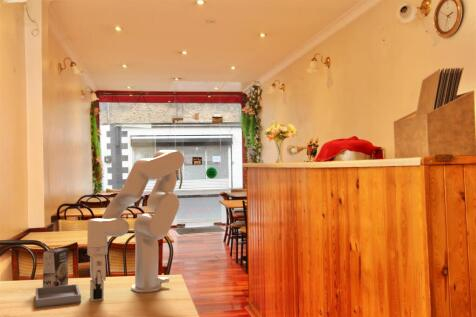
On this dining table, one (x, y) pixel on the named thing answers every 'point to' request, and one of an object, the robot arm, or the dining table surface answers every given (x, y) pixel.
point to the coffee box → (55, 267)
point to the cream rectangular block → (93, 288)
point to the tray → (57, 295)
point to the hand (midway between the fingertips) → (96, 296)
